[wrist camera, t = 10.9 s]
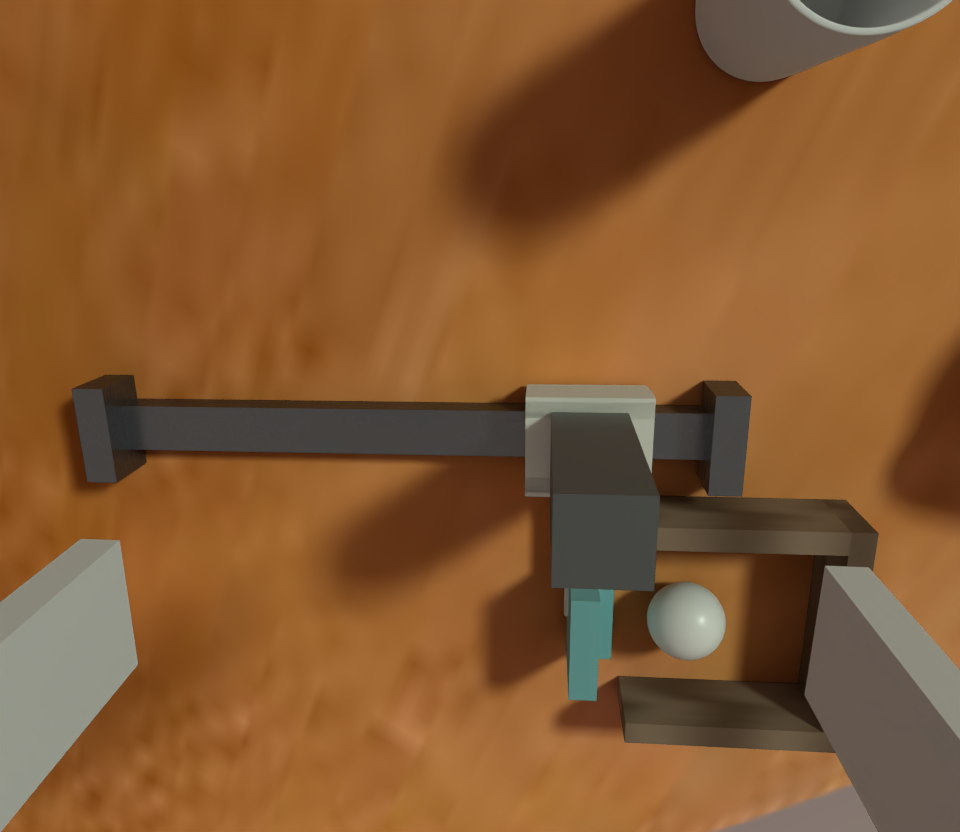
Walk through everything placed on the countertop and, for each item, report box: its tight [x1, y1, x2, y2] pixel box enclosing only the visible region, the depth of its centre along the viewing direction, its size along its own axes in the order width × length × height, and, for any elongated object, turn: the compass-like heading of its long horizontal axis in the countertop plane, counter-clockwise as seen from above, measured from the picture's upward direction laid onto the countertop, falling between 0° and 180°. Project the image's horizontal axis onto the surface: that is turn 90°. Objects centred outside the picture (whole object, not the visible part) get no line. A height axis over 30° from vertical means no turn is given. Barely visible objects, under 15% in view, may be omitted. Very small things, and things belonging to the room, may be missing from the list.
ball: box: [647, 582, 726, 660], centre depth 39 cm, size 4×4×4 cm
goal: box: [618, 496, 879, 753], centre depth 39 cm, size 11×12×4 cm
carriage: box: [525, 384, 660, 701], centre depth 34 cm, size 6×15×13 cm, turn 1°
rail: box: [72, 375, 752, 497], centre depth 38 cm, size 33×5×3 cm, turn 91°
